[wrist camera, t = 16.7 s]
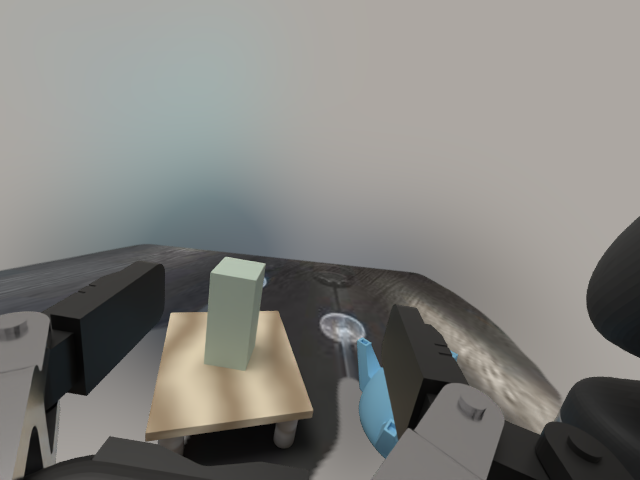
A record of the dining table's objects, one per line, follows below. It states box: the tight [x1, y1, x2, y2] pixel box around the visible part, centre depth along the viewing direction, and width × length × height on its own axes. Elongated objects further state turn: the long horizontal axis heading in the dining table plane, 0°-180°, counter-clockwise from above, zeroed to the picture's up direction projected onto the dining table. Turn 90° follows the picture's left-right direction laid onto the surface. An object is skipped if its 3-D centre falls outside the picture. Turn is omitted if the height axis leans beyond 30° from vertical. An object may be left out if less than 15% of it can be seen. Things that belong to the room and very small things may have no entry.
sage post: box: [204, 257, 265, 371], centre depth 38 cm, size 5×5×12 cm
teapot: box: [357, 338, 458, 459], centre depth 39 cm, size 15×15×11 cm
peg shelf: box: [145, 311, 313, 456], centre depth 41 cm, size 16×20×6 cm
